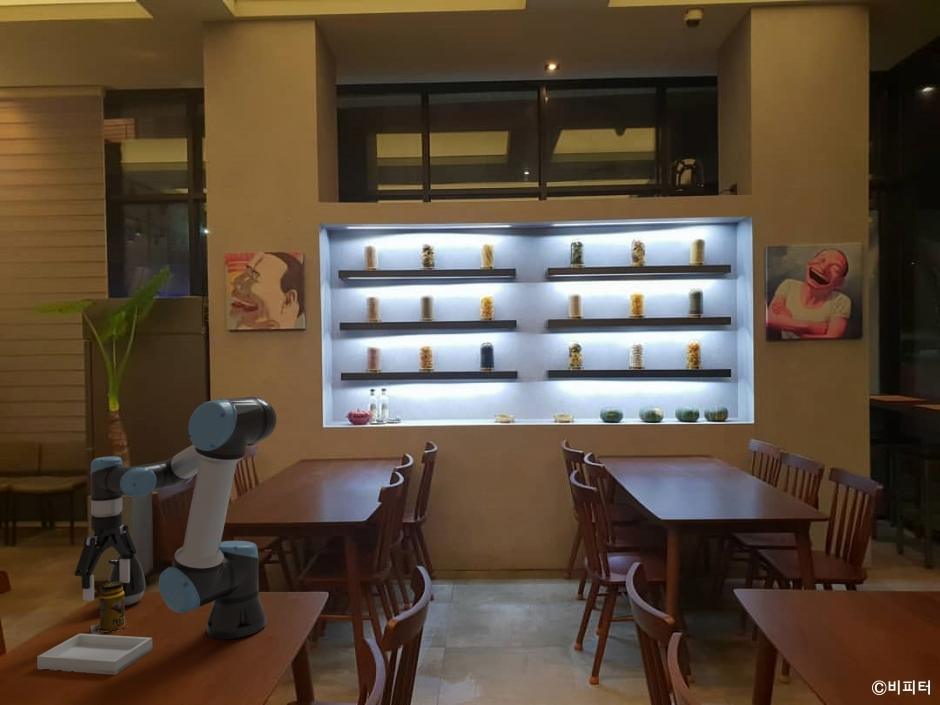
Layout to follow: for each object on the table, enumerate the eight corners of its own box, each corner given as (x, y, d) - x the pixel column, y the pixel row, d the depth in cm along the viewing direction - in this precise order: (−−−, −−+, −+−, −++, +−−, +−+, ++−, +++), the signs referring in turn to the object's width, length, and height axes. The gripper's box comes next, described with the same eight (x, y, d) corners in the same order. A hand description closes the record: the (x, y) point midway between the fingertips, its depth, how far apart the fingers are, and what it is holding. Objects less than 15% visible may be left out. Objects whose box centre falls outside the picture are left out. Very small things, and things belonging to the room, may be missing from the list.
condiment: (127, 628, 177) (127, 584, 177) (92, 636, 172) (91, 591, 172) (125, 619, 183) (124, 577, 183) (90, 627, 178) (89, 583, 179)
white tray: (152, 649, 163) (152, 637, 163) (115, 674, 150) (115, 661, 150) (79, 645, 167) (79, 633, 167) (37, 669, 154) (37, 656, 154)
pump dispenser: (100, 605, 194) (99, 555, 194) (133, 594, 203) (132, 546, 203) (119, 612, 189) (118, 560, 189) (152, 600, 198) (151, 550, 198)
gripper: (126, 502, 191) (127, 574, 191) (58, 524, 167) (59, 607, 166) (149, 503, 190) (149, 576, 190) (84, 526, 165) (84, 609, 165)
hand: (107, 590), depth 178 cm, fingers open, 13 cm apart
